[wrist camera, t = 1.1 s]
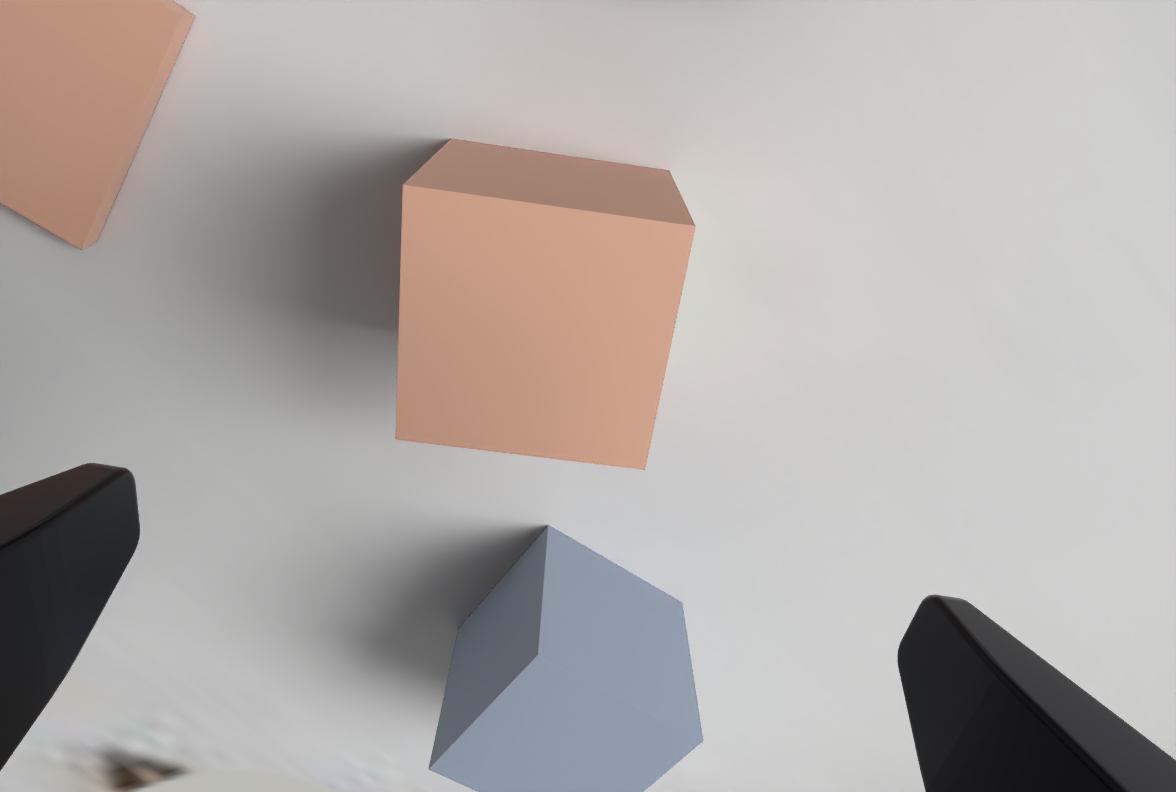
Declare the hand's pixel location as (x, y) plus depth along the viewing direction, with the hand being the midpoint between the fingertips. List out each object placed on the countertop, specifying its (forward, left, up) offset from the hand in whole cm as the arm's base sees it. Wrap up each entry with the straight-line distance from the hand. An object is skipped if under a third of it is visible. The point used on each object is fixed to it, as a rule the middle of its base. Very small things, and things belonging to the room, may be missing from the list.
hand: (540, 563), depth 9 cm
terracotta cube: (0, 0, -11) cm, 11 cm away
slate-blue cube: (+7, -9, -11) cm, 16 cm away
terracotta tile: (-12, -3, -11) cm, 17 cm away
